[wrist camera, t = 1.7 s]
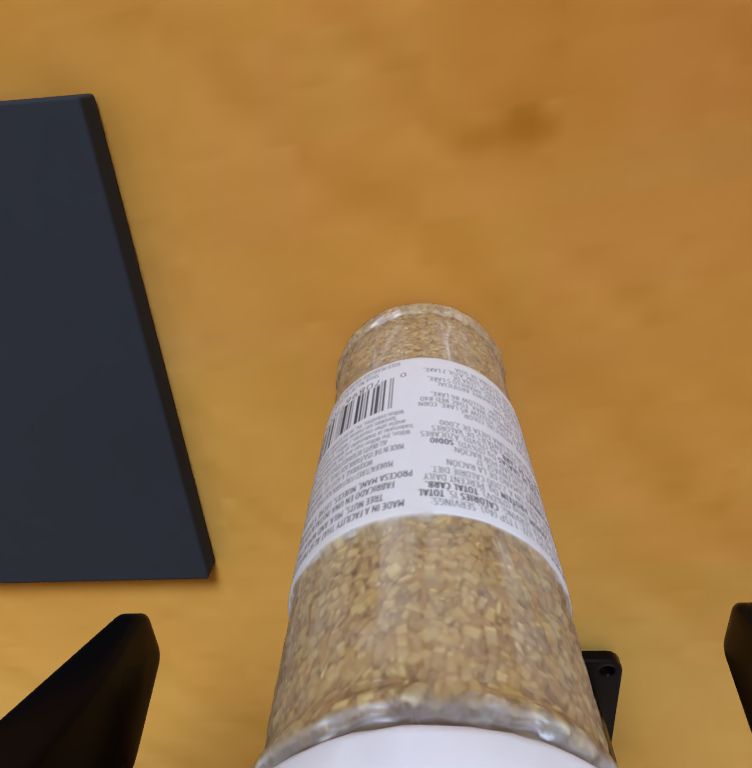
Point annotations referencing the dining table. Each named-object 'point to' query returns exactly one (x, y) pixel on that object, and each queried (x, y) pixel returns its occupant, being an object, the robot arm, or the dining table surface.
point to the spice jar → (429, 574)
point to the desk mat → (82, 370)
